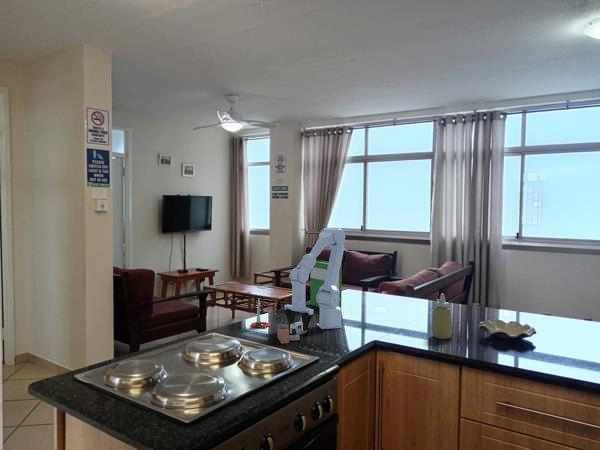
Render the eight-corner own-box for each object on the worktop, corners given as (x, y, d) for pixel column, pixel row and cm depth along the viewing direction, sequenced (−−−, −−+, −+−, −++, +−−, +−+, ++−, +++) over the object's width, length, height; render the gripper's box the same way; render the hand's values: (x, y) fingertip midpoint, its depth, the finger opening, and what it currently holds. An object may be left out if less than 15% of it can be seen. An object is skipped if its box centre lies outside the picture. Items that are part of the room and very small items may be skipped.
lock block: (299, 330, 186) (299, 321, 185) (306, 332, 183) (306, 323, 183) (290, 333, 181) (290, 324, 181) (297, 335, 178) (297, 325, 178)
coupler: (296, 336, 177) (296, 321, 176) (301, 342, 169) (301, 327, 169) (276, 337, 175) (276, 323, 174) (280, 343, 167) (280, 328, 167)
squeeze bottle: (452, 335, 179) (452, 292, 179) (452, 341, 172) (453, 296, 171) (431, 333, 182) (432, 291, 182) (431, 338, 174) (431, 294, 174)
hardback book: (341, 308, 229) (341, 263, 228) (330, 310, 225) (331, 264, 224) (320, 302, 243) (321, 260, 243) (310, 304, 239) (310, 261, 238)
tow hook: (253, 323, 198) (248, 328, 189) (254, 295, 199) (249, 298, 189) (271, 324, 197) (267, 329, 188) (272, 296, 197) (267, 299, 188)
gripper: (279, 295, 183) (279, 327, 184) (305, 300, 174) (305, 333, 174) (290, 293, 189) (290, 324, 189) (316, 298, 179) (316, 330, 179)
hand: (298, 328), depth 182 cm, fingers open, 7 cm apart
